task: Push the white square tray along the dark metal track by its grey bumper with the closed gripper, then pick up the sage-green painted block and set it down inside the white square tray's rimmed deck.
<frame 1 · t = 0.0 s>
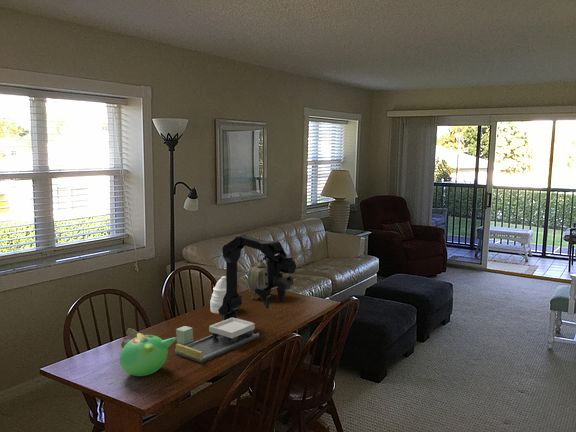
hand: (274, 305, 215), 15 cm above the table, tool pointing down, fingers open, 9 cm apart
green rounded figure: (146, 373, 184), on the table
grey angular piece: (132, 350, 207), on the table
track: (219, 345, 210), on the table
tabletop clock: (262, 298, 278), on the table
green block: (185, 341, 215), on the table
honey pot: (223, 310, 258), on the table
white square tray: (232, 330, 216), point 4 cm above the table, slide at 0.0 cm
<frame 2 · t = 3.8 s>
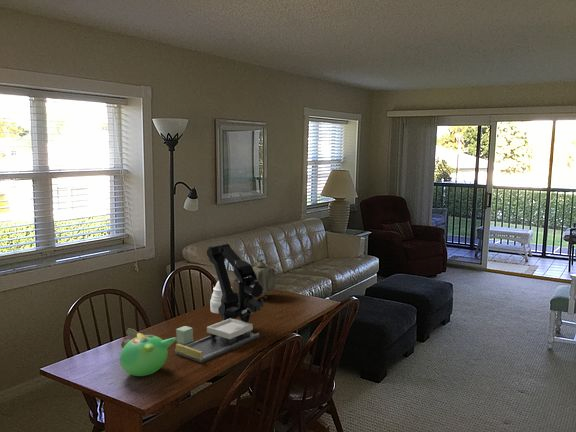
hand: (245, 326, 222), 4 cm above the table, tool pointing down, fingers closed
white square tray: (230, 331, 215), point 4 cm above the table, slide at 1.3 cm, touching gripper
everything else where it was.
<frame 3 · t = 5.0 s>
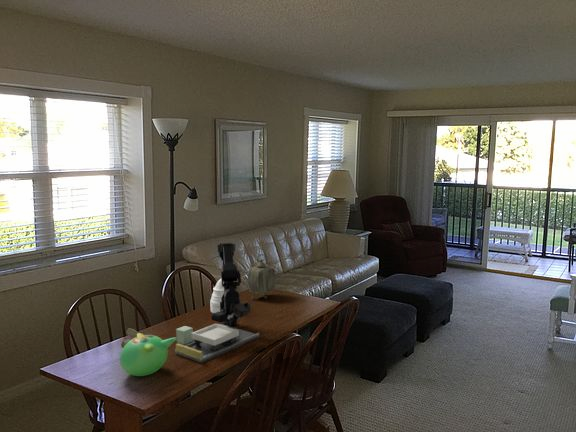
hand: (232, 331, 215), 4 cm above the table, tool pointing down, fingers closed
white square tray: (216, 337, 208), point 4 cm above the table, slide at 9.9 cm, touching gripper
everything else where it was.
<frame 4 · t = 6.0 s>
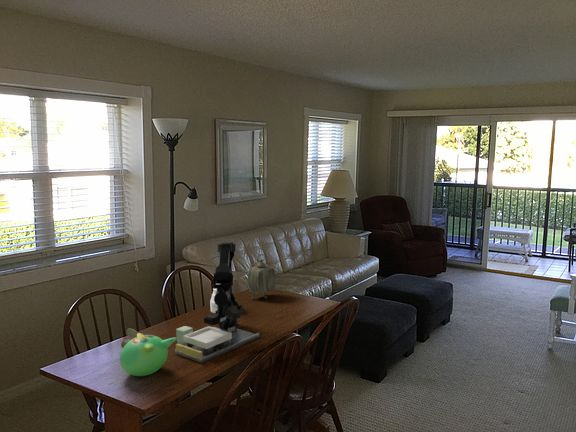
hand: (225, 334, 212), 4 cm above the table, tool pointing down, fingers closed
white square tray: (208, 340, 205), point 4 cm above the table, slide at 14.2 cm, touching gripper
everything else where it was.
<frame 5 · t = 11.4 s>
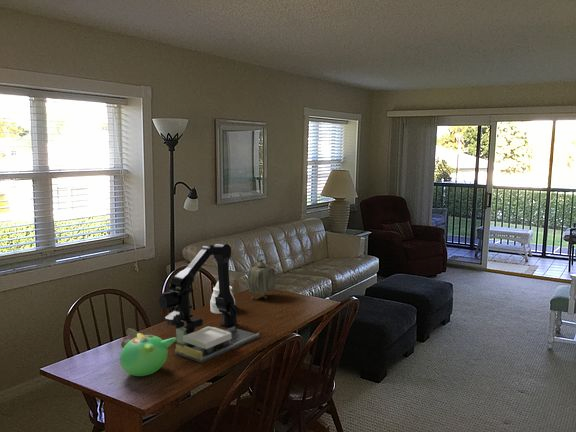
hand: (184, 338, 214), 1 cm above the table, tool pointing down, fingers closed on green block, 5 cm apart
green block: (185, 341, 215), on the table, touching gripper
white square tray: (208, 340, 205), point 4 cm above the table, slide at 14.3 cm
everything else where it was.
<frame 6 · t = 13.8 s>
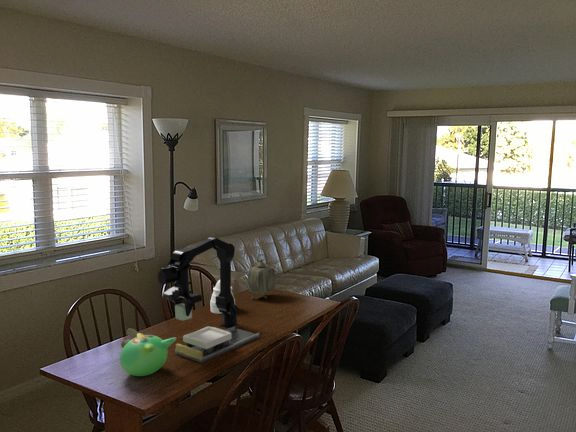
hand: (183, 315, 213), 12 cm above the table, tool pointing down, fingers closed on green block, 5 cm apart
green block: (183, 318, 213), point 11 cm above the table, touching gripper
everything else where it was.
when the fingers open (8 cm above the table, at t = 16.3 s): green block drops 1 cm, resting on white square tray.
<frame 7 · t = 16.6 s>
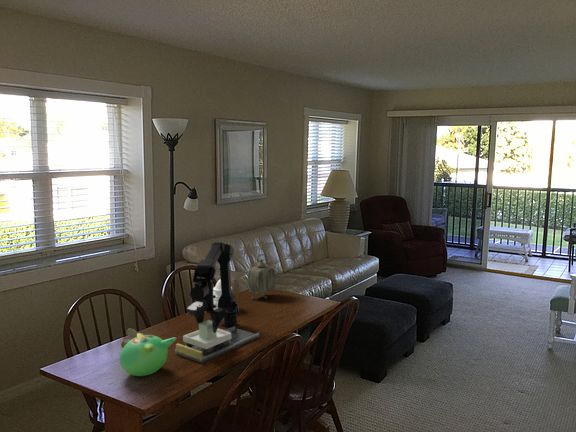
hand: (207, 330, 204), 8 cm above the table, tool pointing down, fingers open, 8 cm apart
green block: (207, 337, 205), point 5 cm above the table, touching white square tray
white square tray: (208, 340, 205), point 4 cm above the table, slide at 14.3 cm, touching green block
everything else where it was.
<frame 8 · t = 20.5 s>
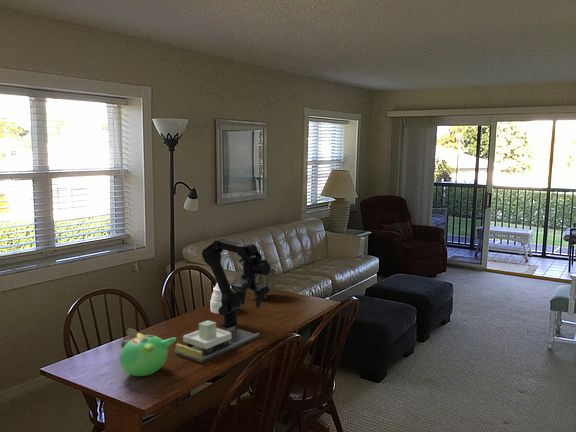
hand: (250, 305, 224), 12 cm above the table, tool pointing down, fingers open, 9 cm apart
nothing on the table moved.
at the end: white square tray slide at 14.3 cm; green block inside the target area on the white square tray (0.3 cm from its centre), point 5.4 cm above the white square tray's base; green block tilted 0° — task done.
